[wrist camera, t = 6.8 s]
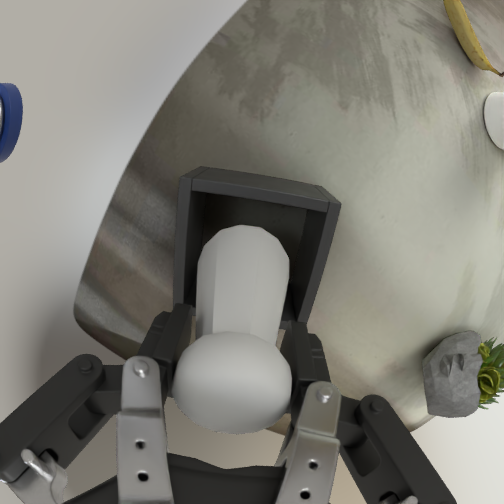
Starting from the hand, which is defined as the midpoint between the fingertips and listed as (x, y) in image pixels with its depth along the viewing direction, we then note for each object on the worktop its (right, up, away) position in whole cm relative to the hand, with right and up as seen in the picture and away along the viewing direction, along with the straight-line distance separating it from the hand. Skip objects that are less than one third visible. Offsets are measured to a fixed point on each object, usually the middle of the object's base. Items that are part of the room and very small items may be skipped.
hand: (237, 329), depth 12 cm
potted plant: (+29, -9, +17) cm, 35 cm away
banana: (+21, +25, +2) cm, 33 cm away
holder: (+1, +5, +12) cm, 13 cm away
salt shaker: (0, +3, +8) cm, 8 cm away
